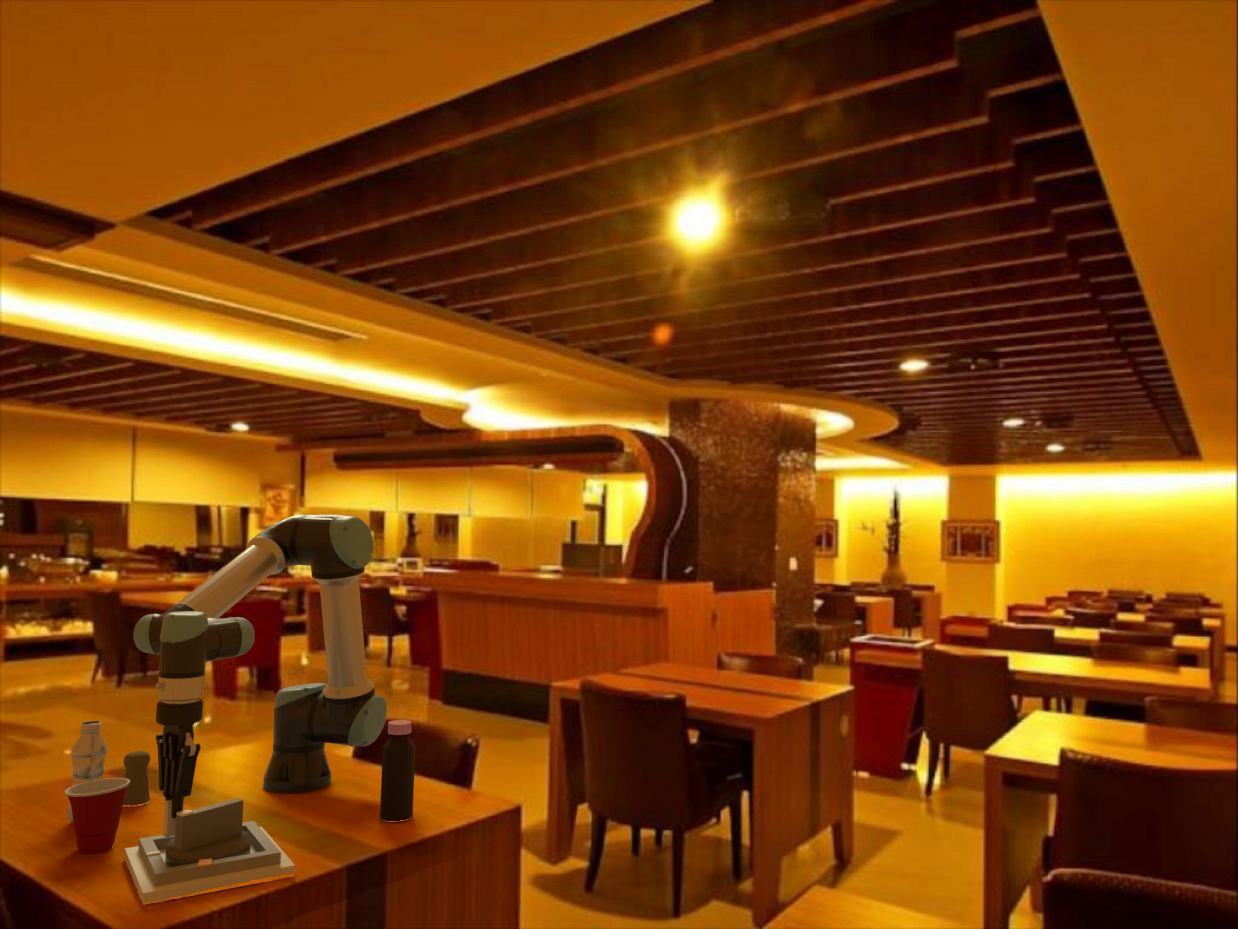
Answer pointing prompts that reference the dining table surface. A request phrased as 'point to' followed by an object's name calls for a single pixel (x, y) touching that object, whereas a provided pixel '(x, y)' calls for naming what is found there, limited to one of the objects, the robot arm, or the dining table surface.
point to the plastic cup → (97, 812)
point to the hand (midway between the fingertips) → (172, 834)
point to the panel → (199, 883)
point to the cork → (137, 777)
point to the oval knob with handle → (208, 834)
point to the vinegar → (397, 773)
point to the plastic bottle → (88, 755)
